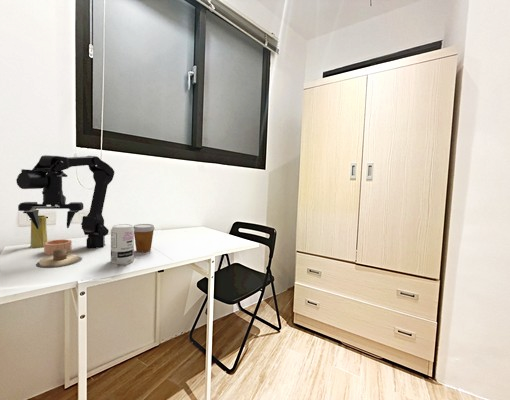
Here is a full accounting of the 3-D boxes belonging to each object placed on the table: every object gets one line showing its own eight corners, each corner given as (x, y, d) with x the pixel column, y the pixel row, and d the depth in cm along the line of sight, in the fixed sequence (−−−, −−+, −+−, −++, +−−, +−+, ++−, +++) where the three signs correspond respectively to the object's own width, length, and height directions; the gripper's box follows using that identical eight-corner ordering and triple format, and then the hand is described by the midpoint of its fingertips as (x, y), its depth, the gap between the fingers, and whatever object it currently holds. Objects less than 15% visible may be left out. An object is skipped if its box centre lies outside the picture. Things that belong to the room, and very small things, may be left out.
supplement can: (116, 258, 102) (116, 223, 101) (136, 259, 103) (137, 224, 102) (106, 265, 94) (106, 227, 93) (128, 265, 95) (128, 228, 94)
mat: (86, 256, 103) (86, 254, 103) (75, 267, 90) (75, 266, 90) (45, 258, 98) (45, 256, 98) (28, 271, 85) (28, 269, 85)
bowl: (74, 249, 111) (73, 239, 111) (67, 255, 103) (67, 244, 102) (49, 250, 108) (49, 239, 107) (40, 257, 99) (40, 245, 99)
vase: (37, 249, 109) (36, 217, 108) (26, 247, 110) (25, 216, 109) (51, 245, 115) (50, 216, 114) (40, 244, 116) (40, 214, 115)
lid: (82, 255, 102) (82, 245, 102) (73, 265, 91) (73, 253, 90) (47, 257, 97) (47, 246, 97) (33, 268, 86) (32, 255, 86)
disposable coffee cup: (158, 249, 117) (159, 225, 116) (142, 254, 109) (142, 228, 108) (144, 246, 121) (145, 222, 120) (127, 251, 113) (127, 225, 112)
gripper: (86, 188, 104) (86, 223, 106) (29, 186, 96) (30, 225, 97) (80, 189, 94) (80, 229, 96) (16, 188, 86) (18, 231, 87)
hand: (53, 228), depth 94 cm, fingers open, 9 cm apart
